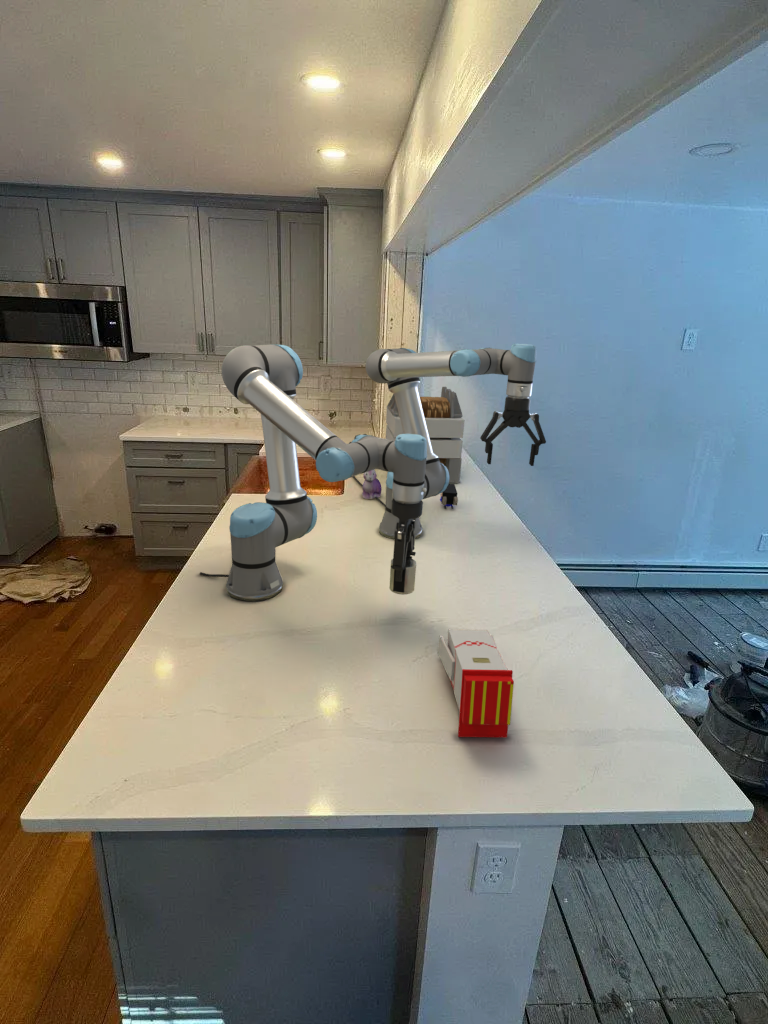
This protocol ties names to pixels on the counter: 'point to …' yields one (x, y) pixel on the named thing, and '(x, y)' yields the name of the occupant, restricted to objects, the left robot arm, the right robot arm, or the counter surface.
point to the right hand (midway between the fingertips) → (510, 464)
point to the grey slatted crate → (436, 428)
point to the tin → (409, 576)
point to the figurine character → (449, 496)
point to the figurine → (371, 485)
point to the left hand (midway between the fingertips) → (402, 584)
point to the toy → (478, 682)
